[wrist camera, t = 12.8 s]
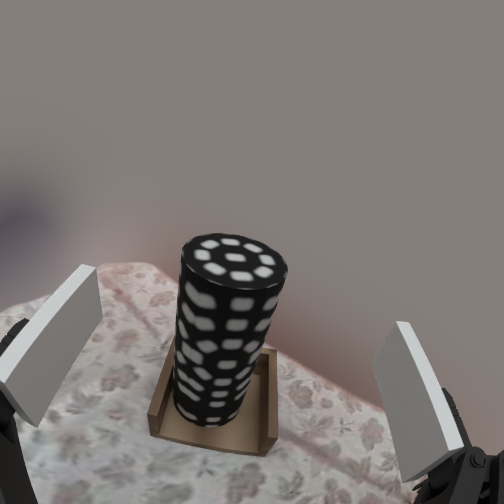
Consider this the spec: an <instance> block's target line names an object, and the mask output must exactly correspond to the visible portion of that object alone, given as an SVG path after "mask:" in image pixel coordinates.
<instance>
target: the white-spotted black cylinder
mask: <svg viewBox="0 0 504 504" xmlns="http://www.w3.org/2000/svg"><path fill="white" fill-rule="evenodd" d="M287 272H288V268H287V264H286V262H285V260H284V259H283V258H282V256H281V255H279V253H277V252H276V251H275V250H274V249H272V248H271V247H269V246H267V245H265V244H263V243H261V242H259V241H256V240H254V239H251V238H247V237H244V236H239V235H233V234H224V233H213V234H205V235H200V236H197V237H195V238H193V239H190V240H189V241H188V242H187V243H185V245H184V247H183V248H182V254H181V264H180V274H179V285H178V297H177V310H176V326H175V344H174V367H173V402H174V406H175V408H176V410H177V411H178V413H179V414H180V415H181V416H182V417H183V418H184V419H185V420H187V421H189V422H190V423H192V424H195V425H197V426H201V427H210V428H212V427H219V426H222V425H225V424H227V423H229V422H231V421H232V420H233V419H234V418H235V417H236V416H237V414H238V412H239V410H240V407H241V405H242V402H243V399H244V397H245V394H246V391H247V389H248V386H249V383H250V380H251V378H252V375H253V372H254V369H255V367H256V364H257V361H258V358H259V355H260V353H261V350H262V347H263V344H264V341H265V338H266V335H267V332H268V329H269V327H270V324H271V321H272V318H273V315H274V312H275V309H276V306H277V303H278V300H279V297H280V294H281V291H282V288H283V285H284V282H285V278H286V275H287Z"/></svg>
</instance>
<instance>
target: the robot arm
mask: <svg viewBox="0 0 504 504" xmlns="http://www.w3.org/2000/svg"><path fill="white" fill-rule="evenodd" d="M102 318H103V314H102V308H101V301H100V295H99V288H98V280H97V272H96V268H95V267H91V266H87V265H83V264H82V265H81V266H80V267H79V268H78V269H77V270H76V271H75V272H74V273H73V274H72V275H71V276H70V277H69V278H68V279H67V280H66V281H65V282H64V283H63V284H62V285H61V286H60V287H59V288H58V289H57V290H56V291H55V293H54V294H53V295H52V296H51V297H50V298H49V299H48V300H47V301H46V302H45V303H44V305H43V306H42V307H41V308H40V309H39V310H38V311H37V313H36V314H35V315H34V316H33V317H32V318H31V319H30V320H28V319H26V318H24V319H23V320H21V321H19V322H18V323H16V324H15V325H14V326H13V327H12V328H11V329H10V331H9V332H8V333H7V335H5V337H4V338H3V339H2V340H1V342H0V504H38V502H37V499H36V497H35V494H34V491H33V488H32V485H31V482H30V479H29V476H28V473H27V469H26V466H25V462H24V458H23V454H22V450H21V446H20V442H19V437H18V433H17V427H16V422H15V419H14V417H13V415H14V413H15V411H16V412H17V413H18V415H19V416H20V417H21V419H23V420H24V421H26V422H27V423H29V424H31V425H33V426H34V427H36V428H37V427H38V425H39V424H40V422H41V420H42V418H43V416H44V414H45V412H46V410H47V408H48V406H49V405H50V403H51V401H52V399H53V397H54V396H55V394H56V392H57V390H58V388H59V387H60V385H61V383H62V381H63V380H64V378H65V376H66V375H67V373H68V371H69V370H70V368H71V366H72V365H73V363H74V361H75V360H76V358H77V356H78V355H79V353H80V352H81V350H82V348H83V347H84V345H85V344H86V342H87V341H88V339H89V337H90V336H91V334H92V333H93V331H94V330H95V328H96V327H97V325H98V324H99V322H100V321H101V319H102ZM371 365H372V368H373V371H374V375H375V378H376V381H377V384H378V388H379V391H380V395H381V398H382V402H383V405H384V409H385V412H386V416H387V420H388V423H389V427H390V431H391V435H392V439H393V443H394V447H395V451H396V456H397V460H398V465H399V469H400V474H401V479H402V483H405V482H409V481H413V480H417V479H419V478H421V477H422V476H424V475H425V474H428V478H427V479H426V480H424V481H423V482H421V483H419V484H418V485H416V486H415V487H414V488H413V489H412V490H413V491H415V490H416V489H418V488H420V487H421V489H420V490H418V491H417V493H418V495H417V497H416V499H415V501H414V503H413V504H504V450H503V451H502V452H500V453H499V454H498V455H497V456H492V455H486V454H485V453H484V451H483V450H482V449H481V448H479V447H472V445H471V443H470V440H469V438H468V435H467V432H466V430H465V428H464V425H463V422H462V420H461V417H459V413H458V410H457V409H456V405H455V403H454V401H453V398H452V396H451V395H450V394H449V393H448V392H447V390H446V389H445V388H441V387H440V385H439V383H438V380H437V378H436V376H435V374H434V372H433V369H432V367H431V365H430V363H429V361H428V359H427V357H426V355H425V353H424V351H423V349H422V347H421V345H420V343H419V341H418V339H417V337H416V335H415V333H414V331H413V330H412V327H411V326H410V324H409V322H399V321H396V322H395V324H394V325H393V327H392V329H391V330H390V332H389V334H388V336H387V337H386V339H385V341H384V342H383V344H382V346H381V347H380V349H379V351H378V352H377V354H376V356H375V357H374V359H373V360H372V362H371Z"/></svg>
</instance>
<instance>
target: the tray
mask: <svg viewBox="0 0 504 504" xmlns="http://www.w3.org/2000/svg"><path fill="white" fill-rule="evenodd" d="M174 344H175V336H174V338H173V341H172V344H171V347H170V349H169V352H168V355H167V358H166V360H165V363H164V366H163V369H162V372H161V375H160V378H159V380H158V383H157V386H156V389H155V392H154V395H153V398H152V401H151V404H150V407H149V410H148V413H147V415H148V422H149V429H150V435H151V436H155V437H158V438H162V439H166V440H170V441H174V442H178V443H182V444H186V445H191V446H196V447H201V448H206V449H211V450H217V451H223V452H230V453H237V454H244V455H253V456H263V457H264V456H265V455H266V454H267V452H268V451H269V450H270V448H271V447H272V446H273V444H274V443H275V442H276V440H277V439H278V391H277V350H274V349H268V348H262V350H261V353H260V355H259V358H258V361H257V364H256V367H255V369H254V372H253V375H252V378H251V380H250V383H249V386H248V389H247V391H246V394H245V397H244V399H243V402H242V405H241V407H240V410H239V412H238V414H237V416H236V417H235V418H234V419H233V420H232V421H231V422H229V423H227V424H225V425H222V426H219V427H212V428H210V427H201V426H197V425H195V424H192V423H190V422H189V421H187V420H185V419H184V418H183V417H182V416H181V415H180V414H179V413H178V411H177V410H176V408H175V406H174V402H173V367H174Z"/></svg>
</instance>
